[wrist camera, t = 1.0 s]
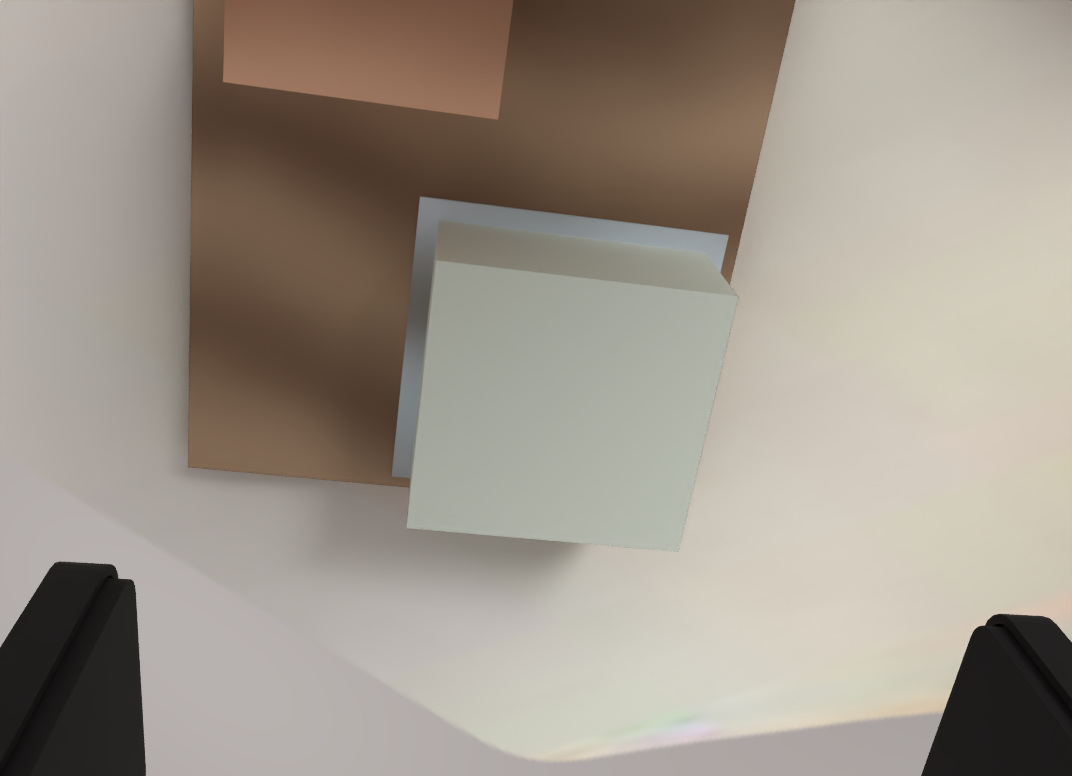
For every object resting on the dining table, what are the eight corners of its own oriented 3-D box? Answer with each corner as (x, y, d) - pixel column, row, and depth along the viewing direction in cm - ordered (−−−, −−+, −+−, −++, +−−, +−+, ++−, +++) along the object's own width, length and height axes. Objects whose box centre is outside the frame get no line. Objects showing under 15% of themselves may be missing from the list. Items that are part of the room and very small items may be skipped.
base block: (438, 219, 30) (436, 260, 26) (705, 252, 31) (738, 296, 27) (412, 461, 33) (406, 528, 29) (654, 484, 34) (677, 551, 30)
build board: (207, -255, 26) (195, -264, 25) (815, -148, 28) (831, -151, 26) (197, 449, 34) (187, 468, 32) (670, 493, 36) (677, 513, 34)
